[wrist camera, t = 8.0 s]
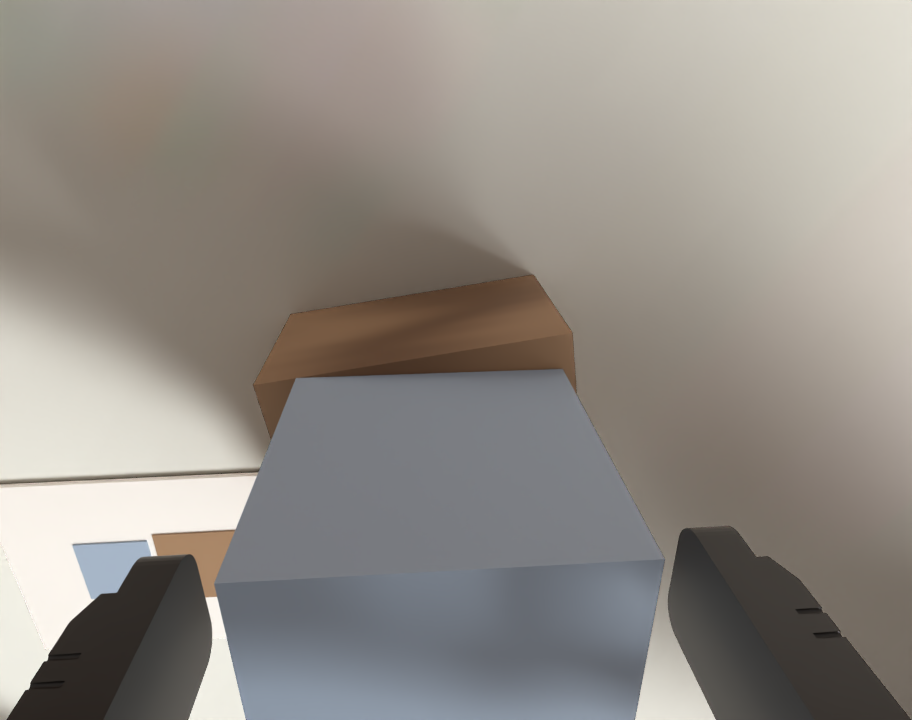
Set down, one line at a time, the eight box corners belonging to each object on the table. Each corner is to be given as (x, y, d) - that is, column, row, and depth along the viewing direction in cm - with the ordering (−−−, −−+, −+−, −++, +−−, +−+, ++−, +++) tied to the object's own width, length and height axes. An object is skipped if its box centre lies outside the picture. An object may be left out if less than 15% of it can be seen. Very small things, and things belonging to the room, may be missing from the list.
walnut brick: (532, 272, 15) (572, 333, 11) (550, 470, 17) (589, 573, 14) (292, 311, 15) (252, 384, 11) (346, 504, 17) (329, 616, 13)
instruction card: (286, 470, 16) (285, 475, 16) (311, 628, 19) (309, 634, 18) (-19, 485, 16) (-24, 490, 16) (48, 645, 18) (44, 651, 18)
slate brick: (562, 368, 11) (665, 559, 7) (547, 568, 13) (616, 817, 9) (295, 378, 11) (214, 583, 6) (323, 581, 13) (275, 845, 8)
